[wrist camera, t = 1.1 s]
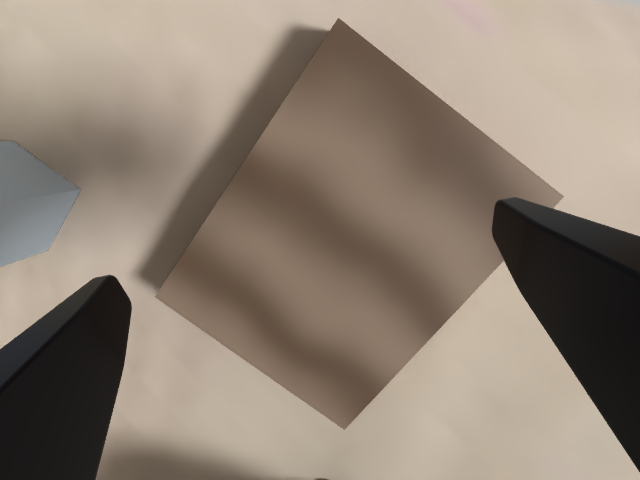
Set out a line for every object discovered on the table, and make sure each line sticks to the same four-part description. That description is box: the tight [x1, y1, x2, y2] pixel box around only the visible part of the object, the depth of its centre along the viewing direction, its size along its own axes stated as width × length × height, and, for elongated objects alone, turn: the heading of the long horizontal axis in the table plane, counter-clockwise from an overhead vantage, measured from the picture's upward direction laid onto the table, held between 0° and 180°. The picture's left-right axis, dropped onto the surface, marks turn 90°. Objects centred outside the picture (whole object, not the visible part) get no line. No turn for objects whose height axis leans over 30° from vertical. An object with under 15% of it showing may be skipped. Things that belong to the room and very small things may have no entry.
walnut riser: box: [155, 18, 564, 430], centre depth 22 cm, size 18×14×2 cm
